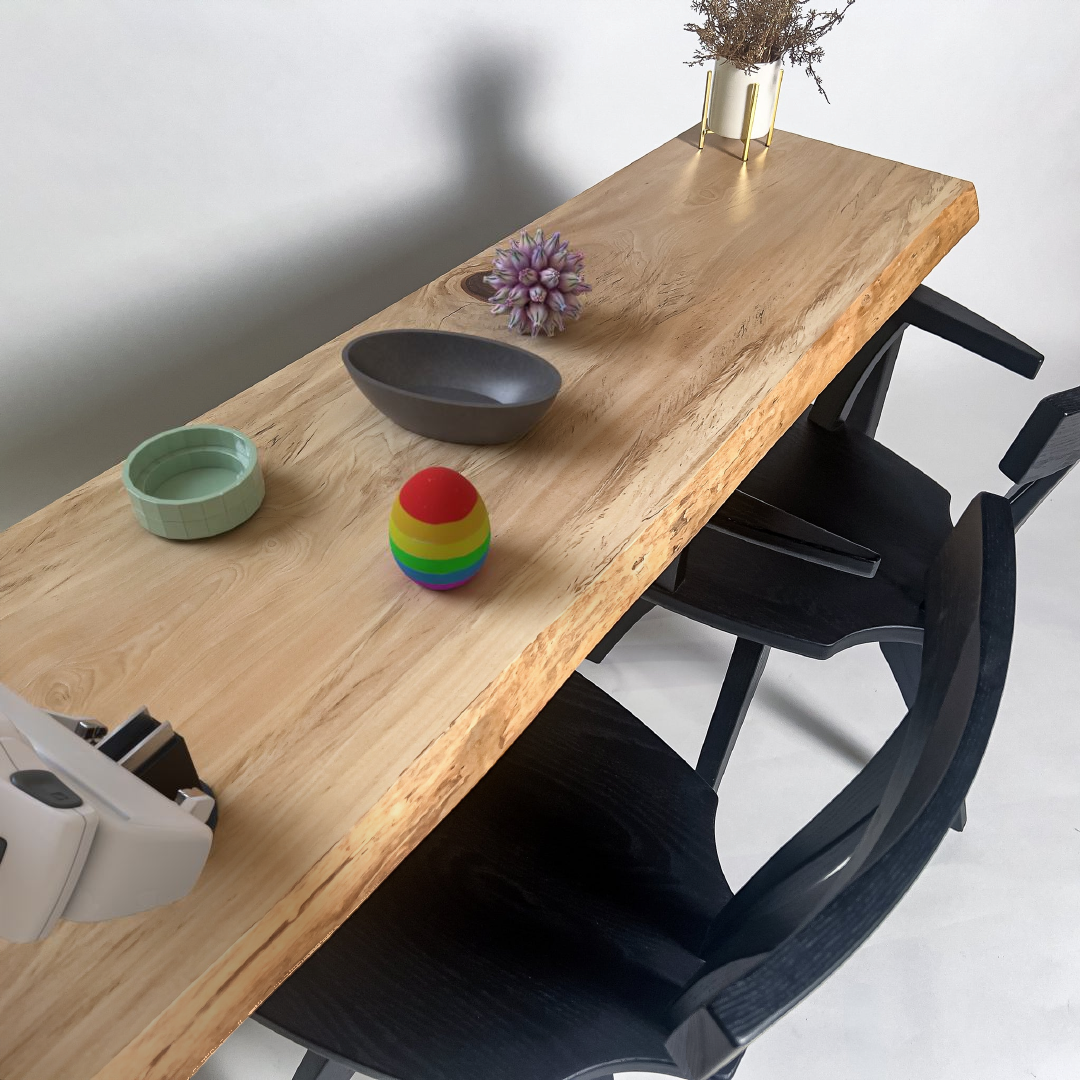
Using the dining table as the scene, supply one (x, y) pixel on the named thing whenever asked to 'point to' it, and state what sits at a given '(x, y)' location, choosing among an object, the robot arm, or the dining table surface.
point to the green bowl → (194, 481)
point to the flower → (537, 283)
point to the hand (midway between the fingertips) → (148, 768)
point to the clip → (152, 753)
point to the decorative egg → (439, 529)
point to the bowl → (452, 383)
